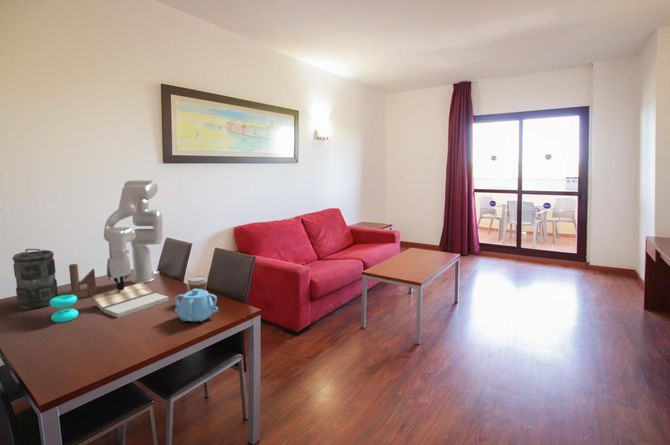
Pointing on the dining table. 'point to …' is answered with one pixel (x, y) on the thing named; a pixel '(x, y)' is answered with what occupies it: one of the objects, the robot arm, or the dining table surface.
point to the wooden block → (88, 280)
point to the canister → (35, 278)
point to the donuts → (65, 313)
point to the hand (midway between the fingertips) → (120, 289)
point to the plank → (120, 295)
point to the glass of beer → (197, 282)
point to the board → (135, 304)
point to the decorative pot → (195, 305)
